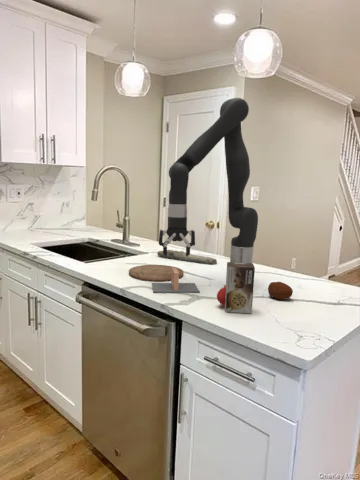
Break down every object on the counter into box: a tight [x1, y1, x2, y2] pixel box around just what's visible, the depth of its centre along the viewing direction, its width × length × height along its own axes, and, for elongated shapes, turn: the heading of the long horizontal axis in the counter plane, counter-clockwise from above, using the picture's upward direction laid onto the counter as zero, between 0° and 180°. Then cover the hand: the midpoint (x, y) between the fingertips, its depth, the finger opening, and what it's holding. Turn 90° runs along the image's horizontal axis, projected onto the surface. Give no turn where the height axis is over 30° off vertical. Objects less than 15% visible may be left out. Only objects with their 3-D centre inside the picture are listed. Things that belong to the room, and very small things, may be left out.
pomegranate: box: [216, 284, 226, 308], centre depth 134 cm, size 6×6×8 cm
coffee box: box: [224, 261, 256, 314], centre depth 131 cm, size 9×6×16 cm
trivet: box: [128, 264, 184, 283], centre depth 175 cm, size 25×25×2 cm
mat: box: [151, 282, 201, 294], centre depth 154 cm, size 18×12×1 cm, turn 98°
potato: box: [267, 281, 294, 301], centre depth 147 cm, size 7×9×6 cm
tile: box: [170, 268, 180, 291], centre depth 153 cm, size 9×2×7 cm, turn 8°
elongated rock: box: [156, 249, 218, 265], centre depth 208 cm, size 35×5×10 cm
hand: (176, 256), depth 153 cm, fingers open, 8 cm apart
